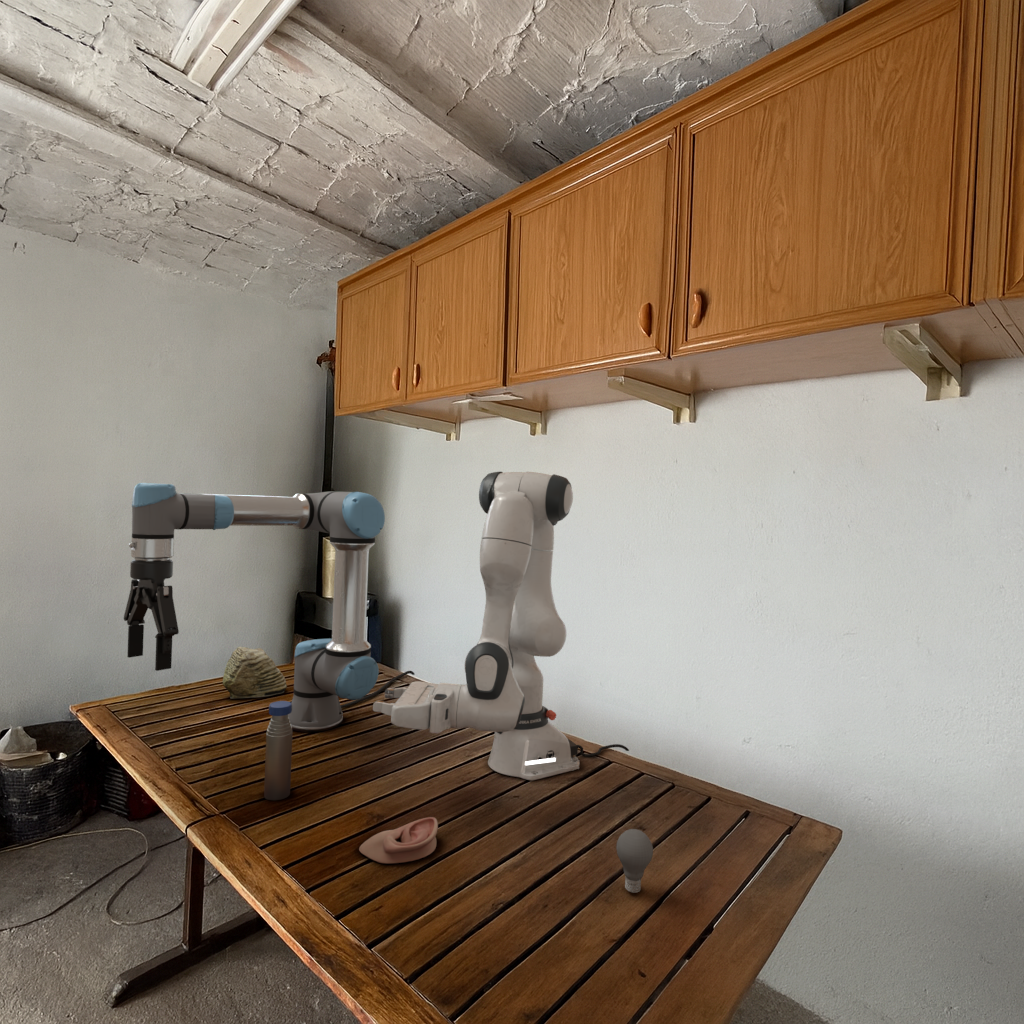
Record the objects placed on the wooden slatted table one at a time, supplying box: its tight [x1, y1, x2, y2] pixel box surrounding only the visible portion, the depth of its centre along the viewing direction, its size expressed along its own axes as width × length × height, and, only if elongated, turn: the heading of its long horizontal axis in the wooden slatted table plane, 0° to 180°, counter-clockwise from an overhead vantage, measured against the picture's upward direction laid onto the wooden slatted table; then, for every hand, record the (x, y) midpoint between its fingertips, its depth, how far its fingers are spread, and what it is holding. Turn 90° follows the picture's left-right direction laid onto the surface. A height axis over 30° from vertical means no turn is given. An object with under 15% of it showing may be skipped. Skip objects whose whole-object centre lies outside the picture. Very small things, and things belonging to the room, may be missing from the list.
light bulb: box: [615, 828, 654, 894], centre depth 106 cm, size 6×6×10 cm
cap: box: [268, 700, 292, 716], centre depth 134 cm, size 4×4×2 cm
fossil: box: [222, 646, 288, 699], centre depth 198 cm, size 9×18×15 cm, turn 132°
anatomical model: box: [358, 816, 439, 864], centre depth 116 cm, size 13×4×12 cm
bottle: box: [263, 715, 293, 801], centre depth 134 cm, size 5×5×19 cm
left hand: (148, 662), depth 129 cm, fingers open, 13 cm apart
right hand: (379, 699), depth 132 cm, fingers open, 8 cm apart
